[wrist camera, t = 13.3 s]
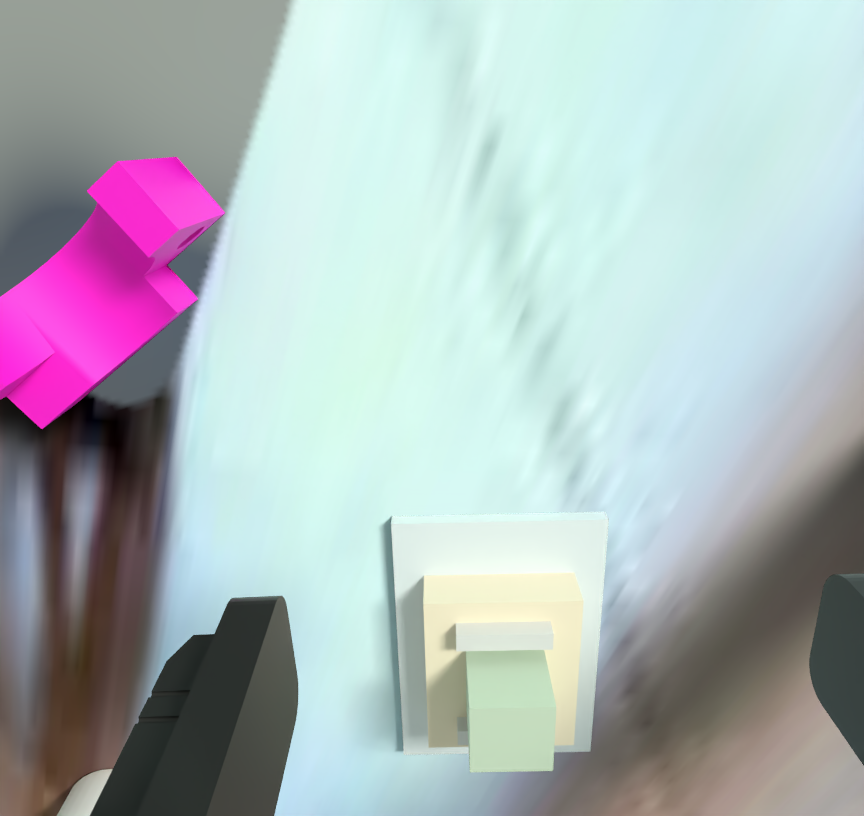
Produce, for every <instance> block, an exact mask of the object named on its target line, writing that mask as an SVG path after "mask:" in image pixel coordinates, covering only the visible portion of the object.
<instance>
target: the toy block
mask: <svg viewBox="0 0 864 816" xmlns="http://www.w3.org/2000/svg"><path fill="white" fill-rule="evenodd" d="M87 192H88V193H89V194H90V195H91V196H92V197H93V198H94V199H95V200H96V201H97V205H96V207H95V210H94V211H93V213H92V215H91V217H90V218H89V219H88V221H87V222H86V223H85V225H84V226H83V227H82V228H81V229H80V230H79V232H78V233H77V234H76V235H75V236H74V237H73V238H72V239H71V240H70V241H69V242H68V243H67V244H66V245H65V246H64V247H63V248H62V249H61V250H60V251H59V252H58V253H56V254H55V255H54V256H53V257H52V258H51V259H50V260H48V261H47V262H46V263H45V264H44V265H43V266H41V267H40V268H39V269H38V270H37V271H35V272H34V273H33V274H31V275H30V276H29V277H28V278H26V279H25V280H24V281H22V282H21V283H19V284H18V285H17V286H15V287H14V288H12V289H11V290H10V291H8V292H7V293H5V294H4V295H3V296H1V297H0V400H1V399H3V398H4V397H7V398H9V399H10V400H11V401H12V402H13V403H14V404H15V405H16V406H17V407H18V408H19V409H20V410H21V411H23V412H24V413H25V414H26V415H27V416H28V417H29V418H30V419H31V420H32V421H33V422H34V423H36V424H37V425H38V426H39V427H40V428H41V429H43V428H44V427H46V426H47V425H48V424H50V423H51V422H52V421H54V420H55V419H56V418H58V417H59V416H60V415H62V414H63V413H64V412H66V411H67V410H69V409H70V408H71V407H73V406H74V405H75V404H77V403H78V402H79V401H80V400H82V399H83V398H84V397H85V396H86V395H87V394H89V393H90V392H91V391H92V390H93V389H95V388H96V387H97V386H98V385H99V384H100V383H101V382H103V381H104V380H105V379H106V378H107V377H108V376H110V375H111V374H112V373H113V372H114V371H115V370H117V369H118V368H119V367H120V366H121V365H122V364H123V363H125V362H126V361H127V360H128V359H129V358H130V357H132V356H133V355H134V354H135V353H136V352H137V351H139V350H140V349H141V348H142V347H143V346H144V345H146V344H147V343H148V342H149V341H150V340H151V339H152V338H154V337H155V336H156V335H157V334H158V333H159V332H161V331H162V330H163V329H164V328H165V327H166V326H167V325H169V324H170V323H171V322H172V321H173V320H174V319H176V318H177V317H178V316H179V315H180V314H182V313H183V312H184V311H185V310H186V309H187V308H189V307H190V306H191V305H192V304H193V303H194V302H195V301H197V300H198V298H197V296H196V295H195V294H194V293H193V292H192V291H191V290H190V289H189V288H188V287H187V286H186V285H185V283H184V282H183V281H182V280H181V279H180V278H179V277H178V276H177V275H176V274H175V273H174V272H173V270H171V268H170V267H169V266H168V264H169V263H170V262H171V261H172V260H174V259H175V258H176V257H177V256H178V255H179V254H180V253H181V252H183V251H184V250H185V249H186V248H187V247H188V246H189V245H190V244H191V243H193V242H194V241H195V240H196V239H197V238H198V237H199V236H200V235H202V234H203V233H204V232H205V231H206V230H207V229H208V228H209V227H210V226H212V225H213V224H214V223H215V222H216V221H217V220H218V219H220V218H221V217H222V216H223V215H224V214H225V212H224V211H223V209H222V208H221V207H220V206H219V205H218V204H217V202H216V201H215V200H214V199H213V198H212V197H211V196H210V194H209V193H208V192H207V191H206V190H205V189H204V187H203V186H202V185H201V184H200V183H199V182H198V180H197V179H196V178H195V177H194V176H193V175H192V174H191V172H190V171H189V170H188V169H187V168H186V167H185V165H184V164H183V163H182V162H181V161H180V160H179V159H178V157H169V158H157V159H156V158H155V159H143V160H130V161H118V162H116V163H115V164H114V165H113V166H112V167H111V168H110V169H109V170H108V171H107V172H106V173H105V174H104V175H103V176H102V177H101V178H100V179H99V180H98V181H97V182H96V183H95V184H93V185H92V186H91V187H90V188H89V189H88V191H87Z"/></svg>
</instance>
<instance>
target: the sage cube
mask: <svg viewBox="0 0 864 816" xmlns="http://www.w3.org/2000/svg"><path fill="white" fill-rule="evenodd" d="M466 712H467V729H468V747H469V765H470V772H519V771H553V763H554V744H555V725H556V703H555V698H554V693H553V689H552V684H551V679H550V675H549V670H548V665H547V661H546V656H545V651H544V650H507V651H466Z"/></svg>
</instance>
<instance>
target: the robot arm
mask: <svg viewBox="0 0 864 816" xmlns="http://www.w3.org/2000/svg"><path fill="white" fill-rule="evenodd" d="M809 666H810V675H811V680H812V684H813V687H814V690H815V692H816V695H817V697H818V699H819V701H820V702H821V704H822V706H823V707H824V709H825V710H826V711H827V713H828V714H829V716H830V717H831V719H832V720H833V722H834V723H835V725H836V726H837V727H838V729H839V730H840V732H841V733H842V735H843V736H844V738H845V739H846V740H847V742H848V743H849V745H850V746H851V748H852V749H853V751H854V752H855V754H856V755H857V756H858V758H859V759H860V761H861V762H862V764H863V765H864V573H862V574H837V575H832V576H830V577H829V578H828V579H827V580H826V582H825V584H824V588H823V592H822V597H821V603H820V608H819V613H818V618H817V623H816V628H815V633H814V638H813V643H812V648H811V653H810V660H809ZM297 706H298V678H297V671H296V664H295V657H294V651H293V644H292V638H291V631H290V625H289V618H288V612H287V606H286V602H285V599H284V598H283V597H282V596H268V597H243V598H232V599H231V600H230V601H229V602H228V604H227V606H226V609H225V611H224V613H223V616H222V618H221V620H220V623H219V625H218V627H217V630H216V632H215V634H208V635H193V636H192V637H191V638H190V639H189V640H188V641H187V642H186V643H185V644H184V645H183V646H182V647H181V648H180V649H179V650H178V651H177V652H176V653H175V654H174V655H173V656H172V657H171V658H170V659H169V660H167V662H166V664H165V666H164V668H163V670H162V672H161V674H160V676H159V678H158V680H157V682H156V684H155V686H154V688H153V690H152V696H151V698H148V700H147V702H146V704H145V706H144V708H143V710H142V712H141V714H140V716H139V722H138V724H135V726H134V728H133V730H132V732H131V734H130V736H129V738H128V740H127V742H126V744H125V746H124V748H123V750H122V752H121V754H120V756H119V758H118V760H117V762H116V764H115V766H114V768H113V770H112V772H111V774H110V776H109V778H108V780H107V782H106V784H105V786H104V788H103V790H102V792H101V794H100V796H99V798H98V800H97V802H96V804H95V806H94V808H93V810H92V812H91V814H90V816H274V814H275V809H276V805H277V801H278V796H279V792H280V787H281V783H282V779H283V774H284V770H285V765H286V761H287V757H288V752H289V748H290V744H291V739H292V735H293V730H294V726H295V721H296V715H297Z"/></svg>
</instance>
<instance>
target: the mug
mask: <svg viewBox="0 0 864 816" xmlns="http://www.w3.org/2000/svg"><path fill="white" fill-rule="evenodd" d="M112 770H113V769H106V770H99V771H96V772H92V773H90V774H88V775H86V776H84V777H83V778H82V779H80V780H79V781H78V782H77V783H76V784H75V785H74V786H73V788H72V789H71V791H70V793H69V795H68V796H67V798H66V800H65V802H64V804H63V805H62V807H61V809H60V811H59V813H58V814H57V816H90V814H91V812H92V810H93V808H94V806H95V804H96V802H97V800H98V798H99V796H100V794H101V792H102V790H103V788H104V786H105V784H106V782H107V780H108V778H109V776H110V774H111V772H112Z"/></svg>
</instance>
